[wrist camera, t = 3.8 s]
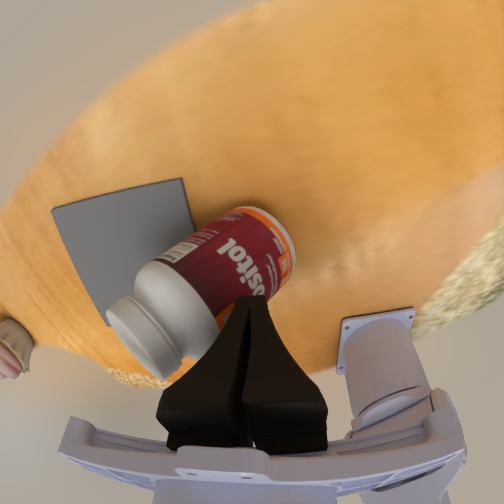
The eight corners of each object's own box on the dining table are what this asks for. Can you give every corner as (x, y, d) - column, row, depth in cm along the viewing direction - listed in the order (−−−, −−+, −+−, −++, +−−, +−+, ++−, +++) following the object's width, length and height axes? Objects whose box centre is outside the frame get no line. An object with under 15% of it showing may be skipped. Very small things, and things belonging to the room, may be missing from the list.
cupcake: (32, 322, 30) (0, 374, 21) (47, 359, 35) (23, 405, 26) (-8, 301, 29) (-40, 345, 20) (9, 338, 34) (-16, 379, 25)
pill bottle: (311, 282, 19) (195, 410, 12) (247, 279, 23) (143, 372, 16) (278, 194, 17) (117, 307, 10) (215, 209, 21) (87, 293, 14)
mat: (220, 320, 27) (220, 324, 26) (108, 323, 28) (107, 326, 28) (181, 177, 19) (180, 179, 19) (53, 208, 21) (50, 210, 20)
